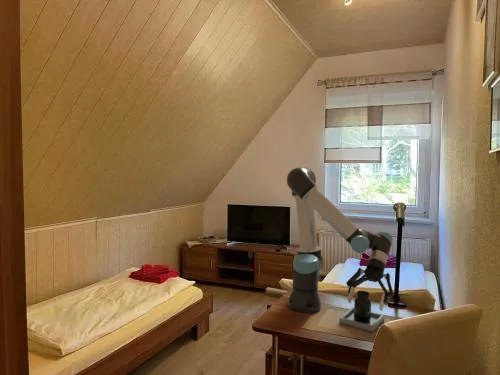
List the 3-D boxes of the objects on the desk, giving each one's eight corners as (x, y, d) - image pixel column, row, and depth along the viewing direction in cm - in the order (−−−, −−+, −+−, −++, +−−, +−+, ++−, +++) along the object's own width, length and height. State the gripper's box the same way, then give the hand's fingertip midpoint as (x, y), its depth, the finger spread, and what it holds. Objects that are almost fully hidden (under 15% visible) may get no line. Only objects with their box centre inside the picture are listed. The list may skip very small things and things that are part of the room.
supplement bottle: (371, 324, 152) (372, 296, 151) (354, 322, 153) (355, 294, 153) (369, 317, 159) (370, 290, 158) (353, 315, 160) (354, 288, 159)
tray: (339, 323, 154) (339, 317, 154) (352, 312, 166) (352, 306, 166) (372, 333, 146) (373, 327, 146) (384, 320, 158) (384, 314, 158)
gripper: (407, 272, 162) (396, 316, 151) (352, 262, 176) (338, 302, 166) (404, 263, 157) (393, 308, 146) (348, 253, 172) (334, 294, 161)
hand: (364, 305), depth 156 cm, fingers open, 13 cm apart
